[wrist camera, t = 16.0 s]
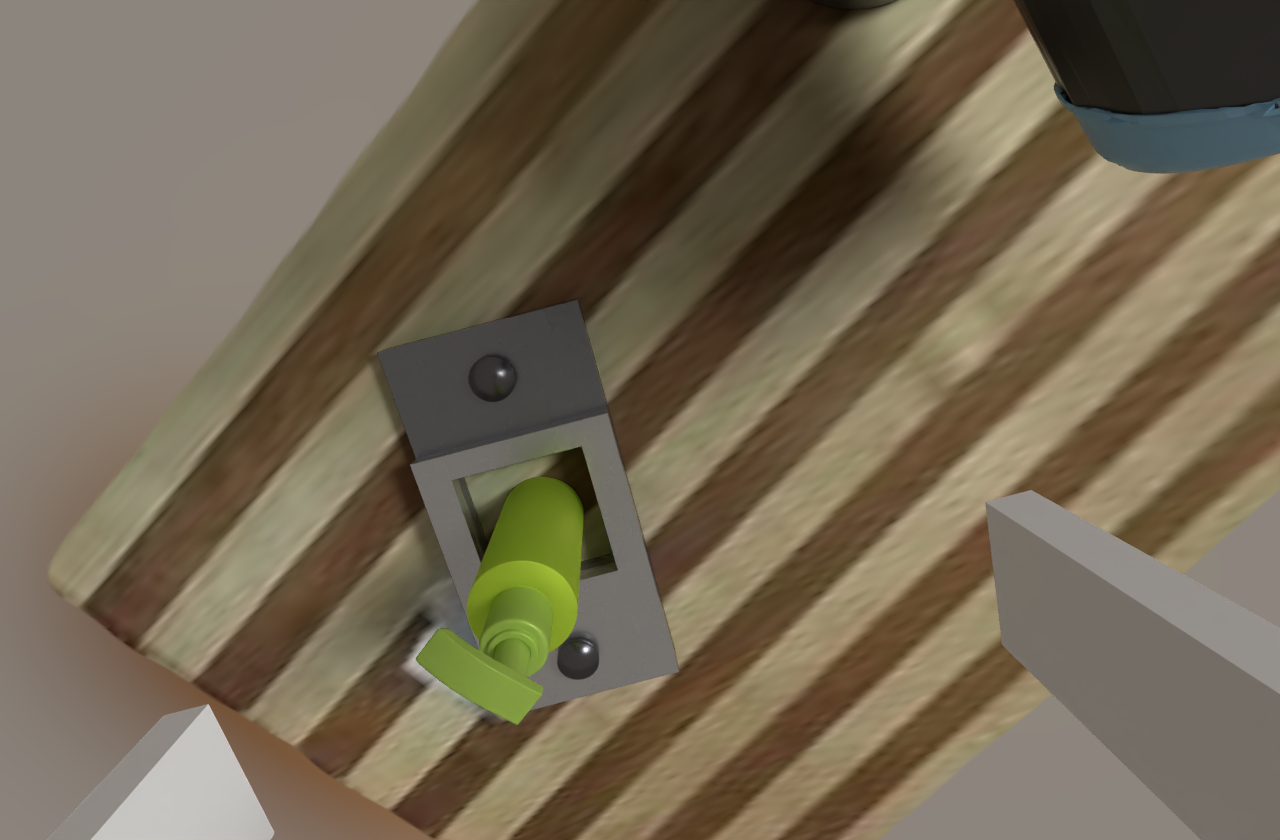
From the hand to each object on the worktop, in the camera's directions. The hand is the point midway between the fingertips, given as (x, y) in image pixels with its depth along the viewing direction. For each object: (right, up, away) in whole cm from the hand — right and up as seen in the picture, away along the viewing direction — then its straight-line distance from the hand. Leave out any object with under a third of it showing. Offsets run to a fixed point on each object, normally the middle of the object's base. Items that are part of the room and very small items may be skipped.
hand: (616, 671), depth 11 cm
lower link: (-8, +1, +35) cm, 36 cm away
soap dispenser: (-7, -2, +36) cm, 37 cm away
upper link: (-6, -6, +37) cm, 38 cm away
